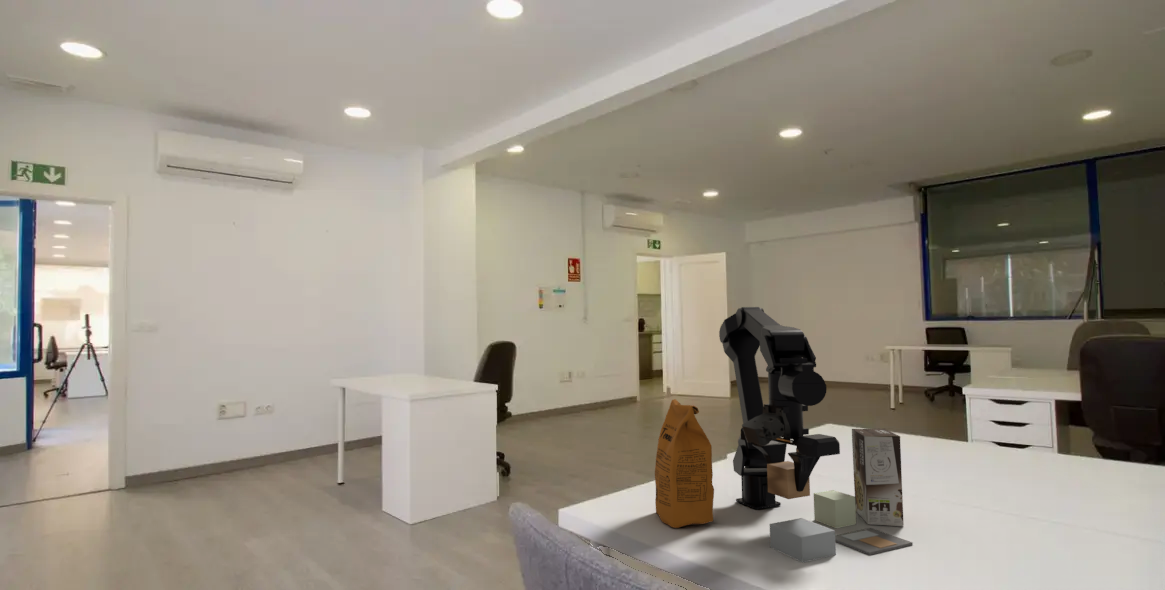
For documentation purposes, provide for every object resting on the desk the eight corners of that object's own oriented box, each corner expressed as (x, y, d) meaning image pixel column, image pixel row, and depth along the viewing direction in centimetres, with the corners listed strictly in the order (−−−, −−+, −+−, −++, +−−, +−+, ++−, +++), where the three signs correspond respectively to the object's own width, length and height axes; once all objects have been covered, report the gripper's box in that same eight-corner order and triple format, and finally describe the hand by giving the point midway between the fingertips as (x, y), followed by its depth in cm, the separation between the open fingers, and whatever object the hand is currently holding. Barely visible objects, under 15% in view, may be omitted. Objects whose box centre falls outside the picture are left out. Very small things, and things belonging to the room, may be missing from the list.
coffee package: (697, 507, 117) (695, 397, 119) (720, 528, 105) (717, 405, 106) (649, 510, 116) (647, 398, 117) (666, 531, 104) (664, 406, 105)
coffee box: (905, 527, 104) (901, 436, 105) (866, 525, 106) (863, 435, 107) (889, 511, 113) (885, 427, 114) (854, 510, 115) (850, 427, 116)
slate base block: (770, 548, 95) (769, 523, 96) (802, 542, 98) (801, 517, 99) (802, 564, 89) (801, 537, 89) (836, 556, 92) (835, 530, 92)
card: (829, 538, 99) (828, 535, 99) (870, 530, 103) (870, 527, 103) (869, 555, 92) (869, 551, 92) (912, 544, 96) (912, 541, 96)
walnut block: (767, 492, 105) (766, 463, 105) (789, 488, 107) (788, 461, 107) (788, 499, 100) (787, 469, 100) (810, 495, 102) (809, 466, 102)
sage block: (814, 520, 109) (813, 493, 109) (834, 516, 111) (833, 490, 111) (836, 528, 104) (835, 500, 105) (856, 524, 106) (855, 496, 107)
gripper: (716, 396, 110) (718, 481, 109) (789, 407, 93) (792, 507, 92) (762, 393, 114) (765, 474, 113) (840, 403, 97) (844, 498, 96)
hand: (788, 487), depth 103 cm, fingers closed on walnut block, 5 cm apart
